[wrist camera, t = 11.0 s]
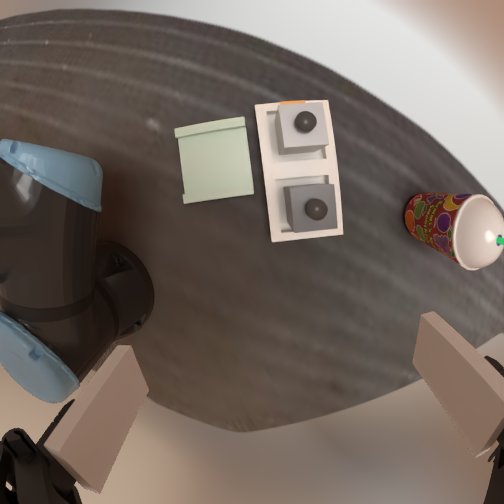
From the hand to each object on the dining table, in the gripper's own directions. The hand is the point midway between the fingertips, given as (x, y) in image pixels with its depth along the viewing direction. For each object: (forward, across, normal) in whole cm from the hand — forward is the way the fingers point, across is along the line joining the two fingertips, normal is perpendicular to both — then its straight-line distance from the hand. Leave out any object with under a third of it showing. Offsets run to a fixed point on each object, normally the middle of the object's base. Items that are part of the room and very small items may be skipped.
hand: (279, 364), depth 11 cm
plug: (+26, +5, +13) cm, 29 cm away
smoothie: (+27, +23, +1) cm, 35 cm away
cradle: (+27, -6, +11) cm, 29 cm away
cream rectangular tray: (+27, +5, +8) cm, 28 cm away
